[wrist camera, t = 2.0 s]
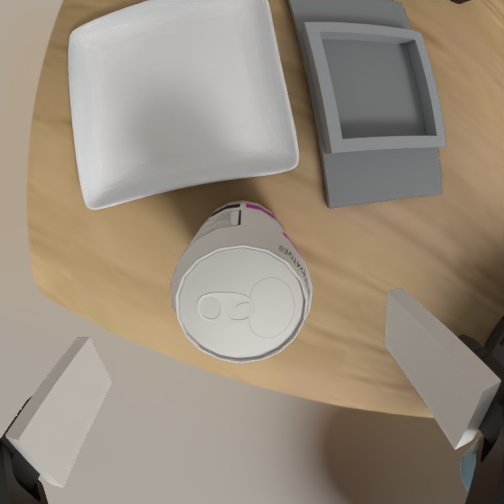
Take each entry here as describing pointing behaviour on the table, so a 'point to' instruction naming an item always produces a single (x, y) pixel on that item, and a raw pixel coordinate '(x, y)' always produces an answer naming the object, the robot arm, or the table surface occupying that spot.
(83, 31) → the salad plate
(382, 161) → the dock
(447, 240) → the table surface
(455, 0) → the coffee mug
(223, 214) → the supplement can
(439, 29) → the table surface
